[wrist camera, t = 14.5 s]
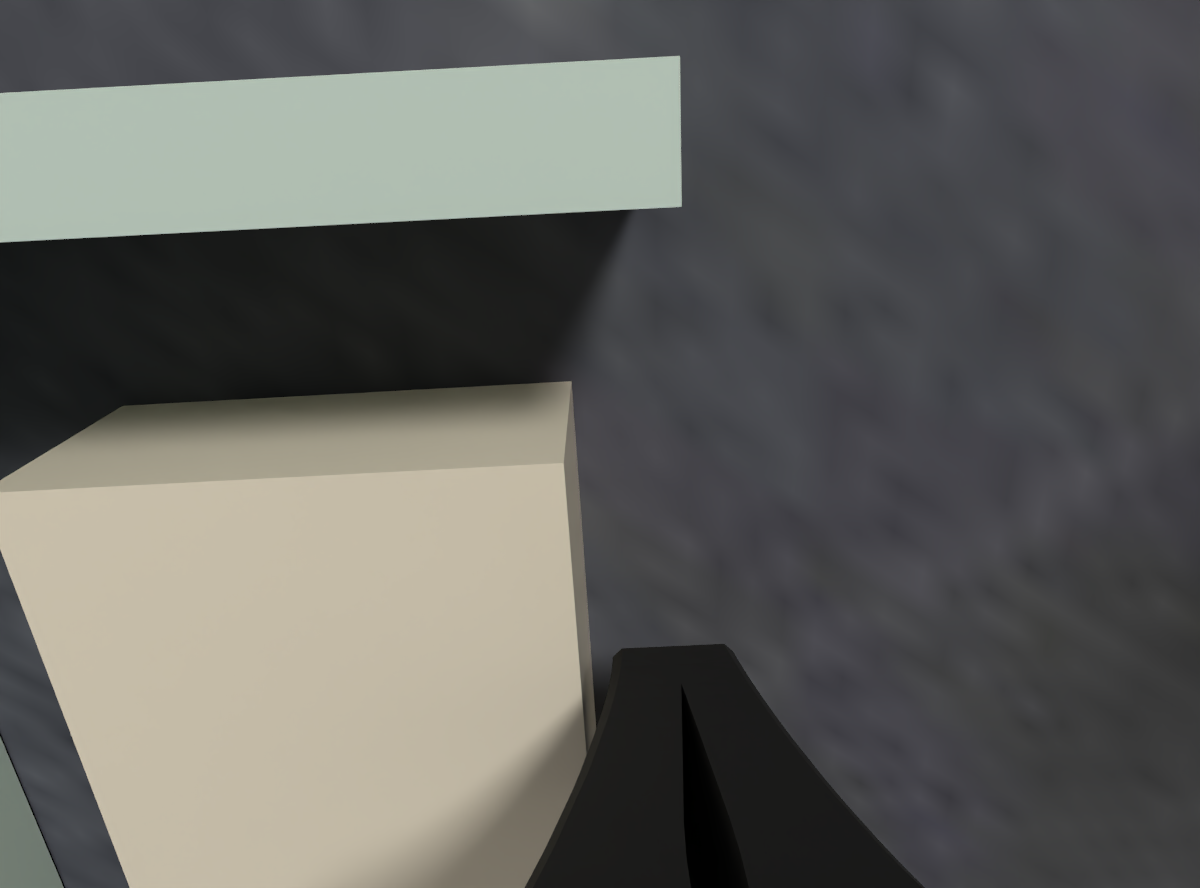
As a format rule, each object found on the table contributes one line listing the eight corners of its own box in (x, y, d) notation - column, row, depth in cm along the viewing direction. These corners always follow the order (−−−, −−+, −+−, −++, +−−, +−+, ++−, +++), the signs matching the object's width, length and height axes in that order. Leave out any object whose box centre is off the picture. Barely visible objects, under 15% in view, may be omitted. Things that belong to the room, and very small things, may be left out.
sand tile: (596, 726, 13) (596, 888, 10) (233, 742, 13) (137, 907, 10) (571, 375, 11) (564, 463, 8) (135, 398, 11) (-22, 493, 8)
